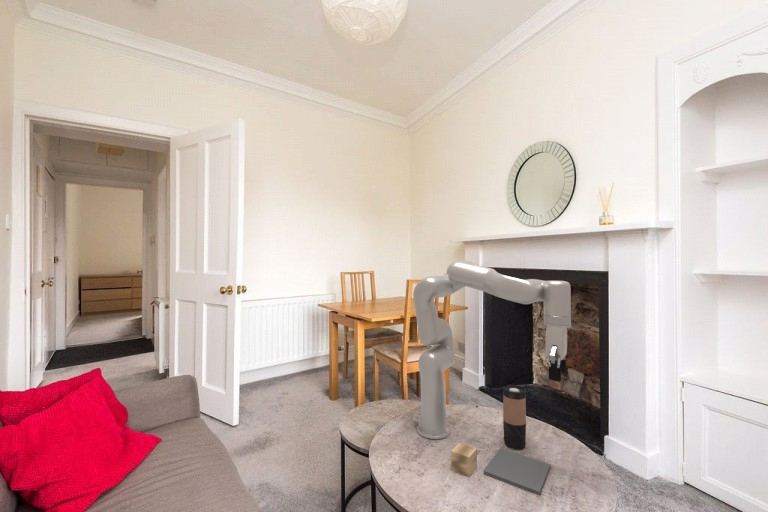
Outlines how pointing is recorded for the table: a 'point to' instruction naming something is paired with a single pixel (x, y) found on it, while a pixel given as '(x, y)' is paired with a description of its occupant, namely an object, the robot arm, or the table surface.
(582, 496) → the table surface
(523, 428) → the travel mug
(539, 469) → the charcoal mat
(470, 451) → the oak block
